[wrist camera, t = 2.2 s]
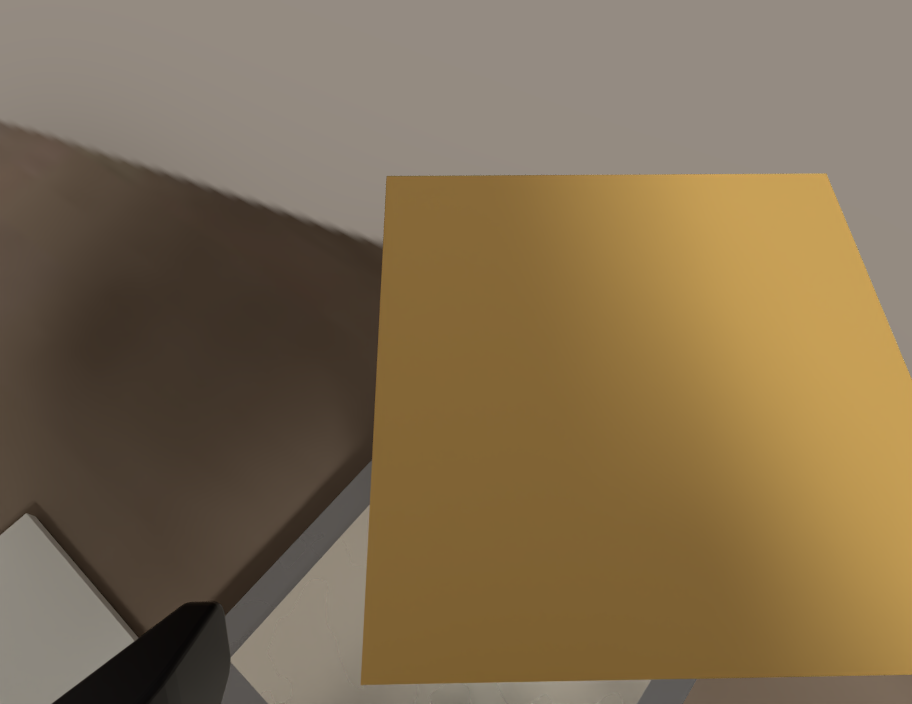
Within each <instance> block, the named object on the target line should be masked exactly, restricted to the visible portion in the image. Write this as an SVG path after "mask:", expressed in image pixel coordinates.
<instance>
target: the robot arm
mask: <svg viewBox="0 0 912 704" xmlns="http://www.w3.org/2000/svg"><path fill="white" fill-rule="evenodd" d="M230 664H231V654H230V647H229V640H228V634H227V627H226V620H225V614H224V610H223V607H222V605H221V604H220V603H218V602H189V603H186V604H184V605H182V606H180V607H179V608H178V609H176V610H175V611H174V612H172V613H171V614H170V615H168V616H167V617H166V618H164V619H163V620H162V621H160V622H159V623H158V624H156V625H155V626H154V627H153V628H151V629H150V630H149V631H147V632H146V633H145V634H143V635H142V636H141V637H139V638H138V639H137V640H135V641H134V642H133V643H131V644H130V645H129V646H127V647H126V648H125V649H123V650H122V651H121V652H119V653H118V654H117V655H115V656H114V657H113V658H111V659H110V660H109V661H107V662H106V663H105V664H103V665H102V666H101V667H99V668H98V669H97V670H95V671H94V672H93V673H91V674H90V675H89V676H87V677H86V678H85V679H83V680H82V681H81V682H79V683H78V684H77V685H75V686H74V687H73V688H71V689H70V690H69V691H68V692H66V693H65V694H64V695H62V696H61V697H60V698H58V699H57V700H56V701H54V702H53V703H52V704H221V702H222V699H223V695H224V691H225V688H226V684H227V680H228V677H229V672H230Z"/></svg>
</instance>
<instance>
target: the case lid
mask: <svg viewBox="0 0 912 704" xmlns="http://www.w3.org/2000/svg"><path fill="white" fill-rule="evenodd" d="M137 639H138V637H137V635H136V634H135V633H134V632H133V631H132V630H131V628H130V627H129V626H128V625H127V624H126V623H125V621H124V620H123V619H122V618H121V617H120V615H119V614H118V613H117V612H116V611H115V610H114V608H113V607H112V606H111V605H110V604H109V603H108V601H107V600H106V599H105V598H104V597H103V595H102V594H101V593H100V592H99V591H98V590H97V588H96V587H95V586H94V585H93V584H92V583H91V581H90V580H89V579H88V578H87V577H86V575H85V574H84V573H83V572H82V571H81V570H80V568H79V567H78V566H77V565H76V564H75V563H74V561H73V560H72V559H71V558H70V557H69V556H68V554H67V553H66V552H65V551H64V550H63V548H62V547H61V546H60V545H59V544H58V543H57V541H56V540H55V539H54V538H53V537H52V536H51V534H50V533H49V532H48V531H47V530H46V528H45V527H44V526H43V525H42V524H41V523H40V521H39V520H38V519H37V518H36V517H35V516H33V515H30V514H28V513H26V514H25V515H23V516H22V517H21V518H20V519H19V520H18V521H16V522H15V523H14V524H13V525H12V526H11V527H9V528H8V529H7V530H6V531H5V532H4V533H2V534H1V535H0V704H52V703H53V702H54V701H56V700H57V699H58V698H60V697H61V696H62V695H64V694H65V693H66V692H68V691H69V690H70V689H71V688H73V687H74V686H75V685H77V684H78V683H79V682H81V681H82V680H83V679H85V678H86V677H87V676H89V675H90V674H91V673H93V672H94V671H95V670H97V669H98V668H99V667H101V666H102V665H103V664H105V663H106V662H107V661H109V660H110V659H111V658H113V657H114V656H115V655H117V654H118V653H119V652H121V651H122V650H123V649H125V648H126V647H127V646H129V645H130V644H131V643H133V642H134V641H135V640H137Z"/></svg>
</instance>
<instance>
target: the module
mask: <svg viewBox="0 0 912 704" xmlns="http://www.w3.org/2000/svg"><path fill="white" fill-rule="evenodd" d="M384 220H385V221H384V238H383V257H382V277H381V296H380V316H379V335H378V355H377V374H376V393H375V413H374V432H373V452H372V471H371V491H370V510H369V530H368V549H367V569H366V588H365V608H364V627H363V647H362V666H361V685H389V684H441V683H494V682H547V681H599V680H652V679H704V678H757V677H809V676H862V675H912V379H911V376H910V374H909V372H908V369H907V367H906V364H905V362H904V360H903V357H902V355H901V353H900V350H899V348H898V345H897V343H896V340H895V338H894V336H893V333H892V331H891V328H890V326H889V324H888V321H887V319H886V316H885V314H884V311H883V309H882V307H881V304H880V302H879V299H878V297H877V295H876V292H875V290H874V287H873V285H872V283H871V280H870V278H869V275H868V273H867V270H866V268H865V266H864V263H863V261H862V258H861V256H860V254H859V251H858V249H857V246H856V244H855V242H854V239H853V237H852V234H851V232H850V230H849V227H848V225H847V222H846V220H845V217H844V215H843V213H842V210H841V208H840V206H839V203H838V201H837V198H836V196H835V193H834V191H833V189H832V186H831V184H830V181H829V179H828V177H827V174H689V175H688V174H686V175H685V174H682V175H681V174H680V175H679V174H678V175H677V174H672V175H512V176H511V175H502V176H499V175H498V176H387V181H386V199H385V219H384Z"/></svg>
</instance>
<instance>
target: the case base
mask: <svg viewBox="0 0 912 704" xmlns="http://www.w3.org/2000/svg"><path fill="white" fill-rule="evenodd" d="M371 471H372V460H371V461H370V462H369V463H368V464H367V466H366V467H365V468H364V469H363V470H362V471H361V472H360V473H359V474H358V475H357V476H356V477H355V478H354V479H353V480H352V482H351V483H350V484H349V485H348V486H347V487H346V488H345V489H344V490H343V491H342V492H341V493H340V494H339V495H338V496H337V497H336V499H335V500H334V501H333V502H332V503H331V504H330V505H329V506H328V507H327V508H326V509H325V510H324V511H323V512H322V513H321V515H320V516H319V517H318V518H317V519H316V520H315V521H314V522H313V523H312V524H311V525H310V526H309V527H308V528H307V529H306V530H305V532H304V533H303V534H302V535H301V536H300V537H299V538H298V539H297V540H296V541H295V542H294V543H293V544H292V545H291V546H290V547H289V549H288V550H287V551H286V552H285V553H284V554H283V555H282V556H281V557H280V558H279V559H278V560H277V561H276V562H275V563H274V565H273V566H272V567H271V568H270V569H269V570H268V571H267V572H266V573H265V574H264V575H263V576H262V577H261V578H260V579H259V580H258V582H257V583H256V584H255V585H254V586H253V587H252V588H251V589H250V590H249V591H248V592H247V593H246V594H245V595H244V596H243V598H242V599H241V600H240V601H239V602H238V603H237V604H236V605H235V606H234V607H233V608H232V609H231V610H230V611H229V612H228V613H227V615H226V616H225V620H226V627H227V634H228V640H229V647H230V654H231V664H230V672H229V677H228V680H227V684H226V688H225V691H224V695H223V699H222V702H221V704H683V702H684V701H685V699H686V697H687V695H688V694H689V692H690V690H691V688H692V687H693V685H694V683H695V681H696V679H652V680H599V681H547V682H494V683H441V684H389V685H361V666H362V647H363V627H364V608H365V588H366V569H367V549H368V530H369V510H370V491H371Z"/></svg>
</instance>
